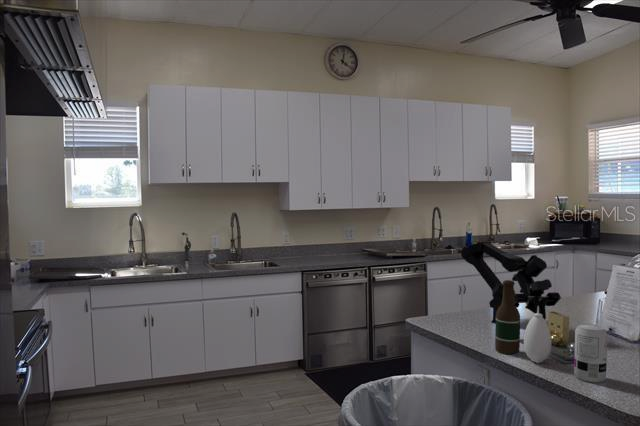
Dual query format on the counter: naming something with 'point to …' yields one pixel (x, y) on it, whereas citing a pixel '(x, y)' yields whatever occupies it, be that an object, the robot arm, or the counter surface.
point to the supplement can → (590, 353)
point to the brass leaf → (558, 328)
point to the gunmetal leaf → (565, 352)
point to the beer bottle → (507, 322)
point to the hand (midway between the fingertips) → (544, 319)
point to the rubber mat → (554, 347)
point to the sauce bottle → (537, 338)
